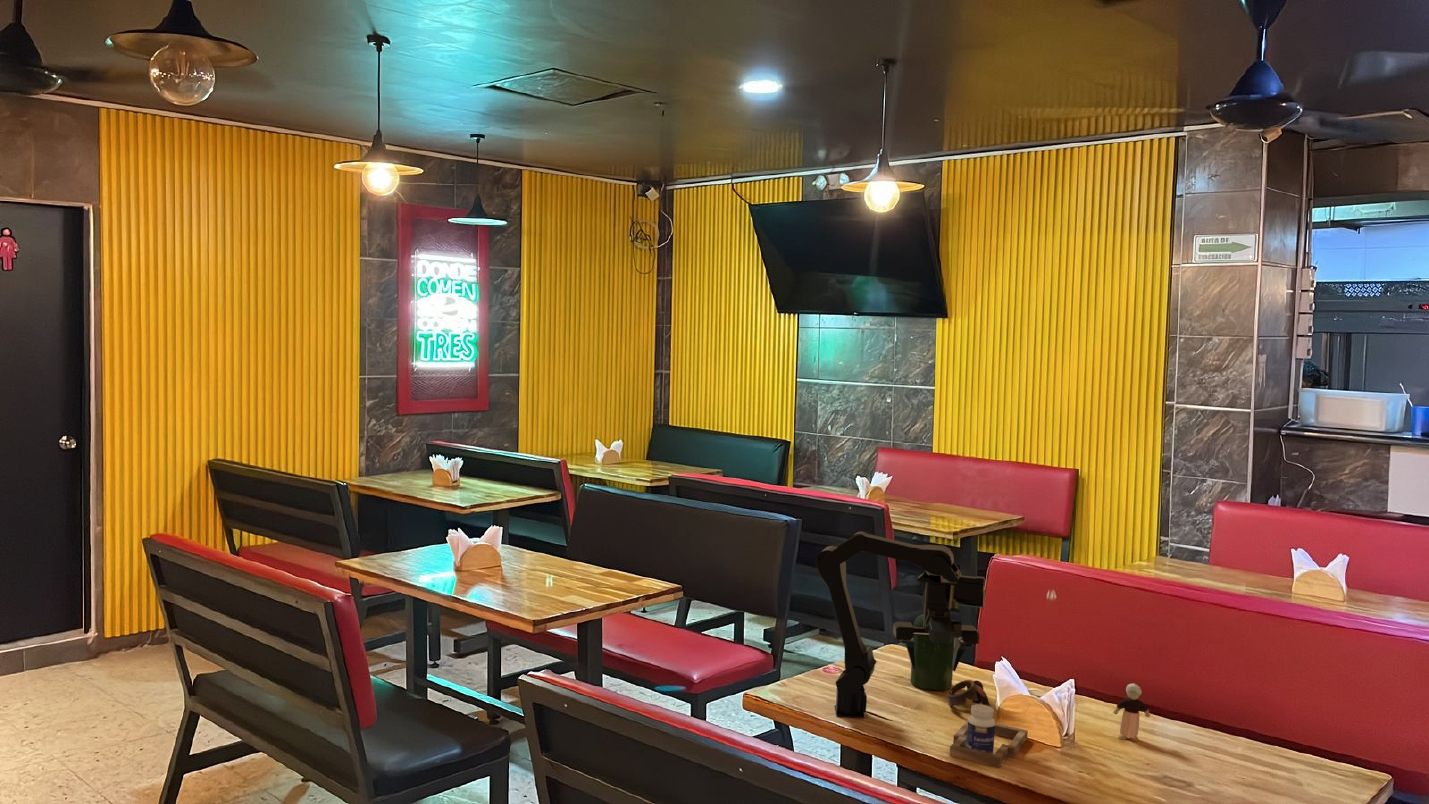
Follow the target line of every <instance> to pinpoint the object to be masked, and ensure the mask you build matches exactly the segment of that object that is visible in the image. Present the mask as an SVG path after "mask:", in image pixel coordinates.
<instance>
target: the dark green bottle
mask: <svg viewBox="0 0 1429 804" xmlns="http://www.w3.org/2000/svg"><path fill="white" fill-rule="evenodd" d="M925 590H926V588H925V589H924V591H923V595H922V610H923V611H924V605H925ZM951 621H953V619H952V618H951ZM923 622H924V613H922V614H920V615H918V616H917V617H916V618H915V620H914V623H913V627H923ZM913 640H914V642H915V643H914V654H915V668H914V669H913V668H912V665H911V664H910V683H911V684H912V685H913V686H914V687H917V688H920V689H922V690H928V691H946V690H948V689H949V690H950V688H951V687H953V674H954V673H953V672H954V671H953V655H954V646H955V638H952V642H951V643H950V644H946V643H933V642H931V641H930V637H929V636H916V635H914V637H913Z"/></svg>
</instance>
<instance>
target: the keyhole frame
mask: <svg viewBox="0 0 1429 804" xmlns="http://www.w3.org/2000/svg"><path fill="white" fill-rule="evenodd" d="M967 727H968V720H966V721H965V723H964V724H963V725H962V726H961V727H960V728H959V729H958V730H957V731H956V732H955V733H954V734H953V741H952V744H951V745H950V747H949V757H951V756H952V757H953V758H956V759H961V760H963V761H967V762H968V761H969V762H972V763H975V764H976V763H977V764H981V765H985V766H989V767H994V768H998V769H999V768H1000V767H1001V766H1002V765H1003V763H1004V762H1005V761H1006V759H1007V758H1009V759H1010V758H1011V759H1014V758H1015V756H1016V755H1017V754H1018V752H1019V751H1020V750H1021V748H1022V747H1023V746H1024V744H1025V743H1026V742H1027V740H1028V730H1027V729H1023V728H1018V727H1015V726H1014V727H1013V726H1008V725H1006V724H1005V725H1003V724H1000V723H996V722H995V735H994V736H1001V737H1006V738H1009V739H1012V740H1011V741H1010V742H1009V744H1004V743H1002V744H1001V745H1000V746H999V748H998V749H997V750H996V751H994V750H993V754H990V753H986V752H981V751H977V750H973V749H969V748H966V740H967ZM1003 761H1004V762H1003ZM1001 764H1002V765H1001Z"/></svg>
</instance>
